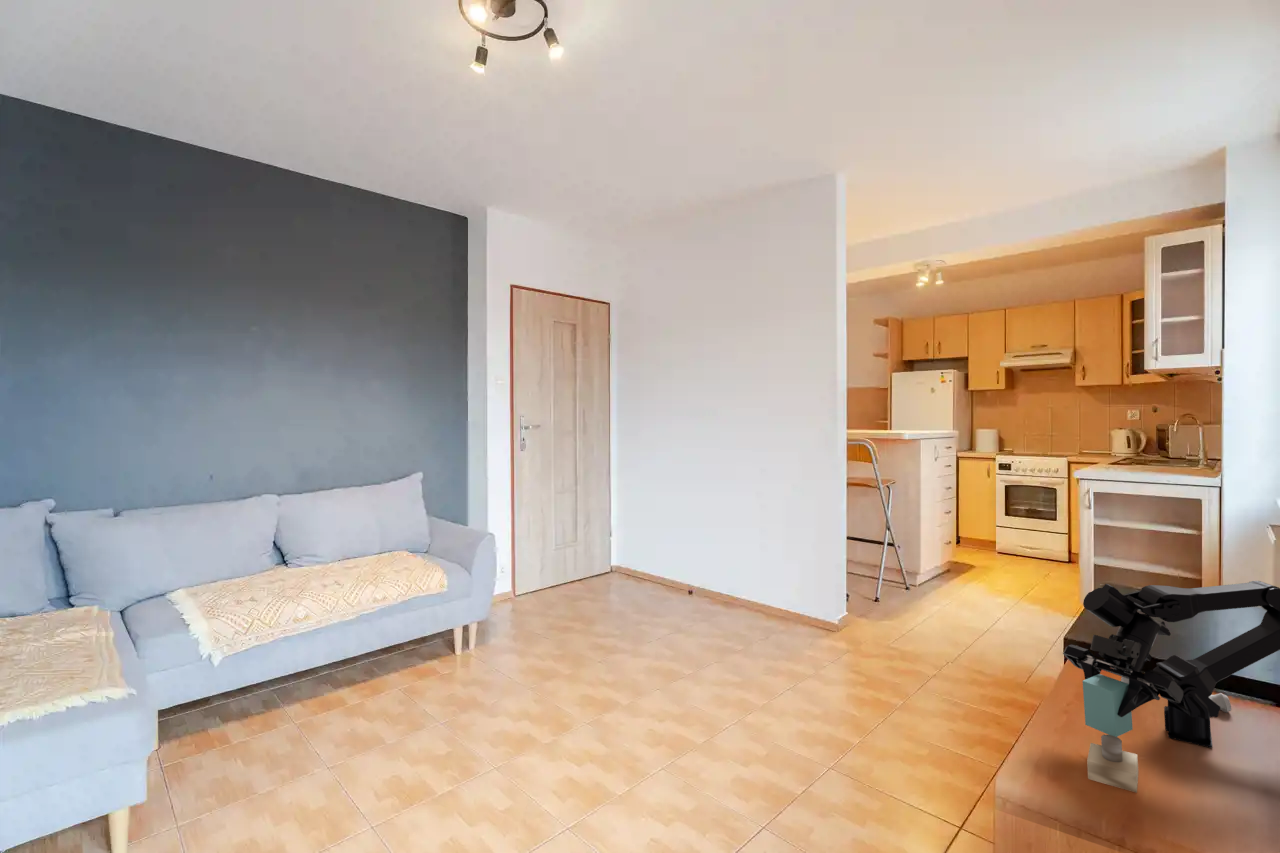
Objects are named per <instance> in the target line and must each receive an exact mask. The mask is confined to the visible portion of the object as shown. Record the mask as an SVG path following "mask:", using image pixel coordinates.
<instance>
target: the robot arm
mask: <svg viewBox="0 0 1280 853" xmlns="http://www.w3.org/2000/svg"><path fill="white" fill-rule="evenodd" d="M1082 605H1083V607H1084V608H1085V610H1087V611H1088V612H1089V613H1091V614H1092V615H1094V616H1095V617H1097V618H1098V619H1099V620H1101V621H1102V622H1104V623H1105V624H1106V625H1108V626H1110V627H1113V628H1117V627H1118V629H1117V632H1116V634H1113V633H1112V634H1111V635H1109V637H1108V638H1107V637H1104V636H1100V635H1099V634H1098V635H1097V634H1093V635H1092V640H1091V643H1090V644H1091V645H1090V650H1091V651H1094V652H1098V655H1099V656H1100V657H1101V658H1103V659H1101V658H1097V657H1096V656H1095V655H1094V654H1093V653H1092V652H1091V651H1090V650H1089V649H1088V648H1084V647H1081V646H1078V645H1075V644H1069V645H1067V646H1065V649H1064V651H1063V652H1062V655H1063V656H1065V658H1066V659H1067V660H1068V661H1069V662H1070V663H1071V664H1072V665H1073V666H1074V667H1075V668H1078V669H1079V670H1082V671H1083V675H1084V680H1085V679H1088V678H1090V677H1093V676H1095V675H1098V674H1101V672H1102V671H1105V672H1106V673H1107V672H1108V673H1110V674H1112V675H1113V674H1114V675H1116V676H1119V677H1124V678H1127V679H1129V688H1128V691H1127V693H1126V695H1125V697H1124V699H1123V701H1122V703H1121V705H1120V707H1119V710H1118V715H1119V716H1120V717H1123V716H1125V715H1126V714H1128V713H1130V712H1131V711H1132V712H1133V711H1135V710H1136V709H1137V708H1139V707H1141V706H1143V705H1145V704H1146V703H1149V702H1152V701H1153V700H1156V701H1160V700H1161V698H1163V699H1166V701H1167V705H1165V706H1164V707H1163V708H1164V710H1163V711H1164V712H1163V714H1164V716H1163V717H1164V730H1165V731H1166V732H1167V733H1168V734H1167V736H1168V738H1169V739H1171V740H1177V741H1181V742H1184V743H1189V744H1193V745H1197V746H1198V745H1199V746H1202V747H1206V748H1211V749H1212V748H1213V739H1212V738H1213V737H1212V732H1211V729H1212V728H1211V718H1217V717H1218V716H1219V715H1220V711H1221V710H1220V706H1219V705H1217V704H1216V703H1215V702H1214V701H1212V700H1211V699H1210V698H1209V696H1211V695H1213V692H1214V690H1215V687H1216V684H1217V683H1218V682H1221V681H1222V680H1224V679H1226V678H1228V677H1230V676H1231V675H1234V674H1236V673H1238V672H1240V671H1242V670H1244V669H1245V668H1248V667H1249V666H1251V665H1253V664H1256V663H1257V662H1259V661H1261V660H1263V659H1265V658H1267V657H1268V656H1271V655H1273V654H1275V653H1277V652H1278V651H1280V587H1278V586H1276V585H1272V584H1270V583H1267V582H1264V581H1261V580H1252V581H1249V582H1243V583H1235V584H1233V583H1232V584H1223V585H1222V584H1221V585H1212V586H1203V587H1202V586H1201V587H1193V588H1184V587H1177V586H1169V585H1159V584H1158V585H1155V584H1148V585H1146V586H1143V587H1142V588H1141V590H1137V591H1133V592H1130V593H1129V592H1128V593H1125V594H1122V593H1121V592H1120V591H1119V590H1118V588H1116V587H1114V586H1112V585H1110V584H1109V583H1105V584H1104V585H1103V587H1097V588H1094V589H1093V590H1092V591H1089V592H1088V593H1087V594H1086V595H1085V597H1084V599H1083V604H1082ZM1256 607H1260V608H1262V609H1263V610H1264V611H1266V612H1265V613H1264V614H1263V617H1262V619H1261V623H1260V624H1258V625H1257V626H1255V627H1253V628H1251V629H1249V630H1247V631H1245V632H1244V633H1242V634H1240V635H1238V636H1236V637H1233V638H1232V639H1230V640H1228V641H1226V642H1224V643H1222V644H1220V645H1219V646H1217V647H1215V648H1213V649H1211V650H1209V651H1206V652H1205V653H1203V654H1201V655H1199V656H1197V657H1195V658H1193V659H1184V658H1182V657H1180V656H1179V655H1176V654H1174V655H1171V656H1169V657H1168V658H1167V659H1165V660H1164V661H1163V660H1162V661H1160V662H1156V667H1154V668H1153V669H1150V668H1149V669H1148V670H1147V669H1146V670H1145V672H1144V673H1143V672H1142V671H1143V668H1144V666H1145V664H1146V662H1147V661H1149V662H1151V660H1152V658H1153V656H1152V655H1151V654H1150V652H1151V650H1152V648H1153V645H1154V643H1155V641H1156V638H1157V636H1158V635H1159V636H1168V637H1169V636H1171V632H1170V630H1169V629H1168V627H1167V626H1166V623H1165V622H1168V623H1177V622H1182V621H1185V620H1189V619H1193V618H1194V617H1195V616H1197V615H1198V614H1200V613H1204V612H1213V611H1223V610H1224V611H1225V610H1235V609H1246V608H1256ZM1155 618H1158V619H1161V620H1162V621H1161V620H1156V619H1155Z"/></svg>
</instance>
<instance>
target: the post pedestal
mask: <svg viewBox="0 0 1280 853" xmlns="http://www.w3.org/2000/svg"><path fill="white" fill-rule="evenodd" d="M1100 738H1101V739H1100V740H1101V742H1100V743H1101V744H1096V743H1094V742H1090V745H1089V750H1088V755H1087V759H1086V760H1087V761H1086V762H1087V764H1086V765H1087V766H1086V768H1087V779H1088V780H1091V781H1094V782H1097V783H1100V784H1101V783H1102V784H1105V785H1108V786H1112V787H1115V788H1119V789H1121V790H1126V791H1129V792H1133V793H1136V794H1137V793H1138V784H1139V782H1138V781H1139V761H1138V757H1139V756H1138V753H1137V754H1136V753H1134V752H1129V751H1125V750H1123V744H1122V743H1123V742H1122V740H1121V738H1119V737H1115V736H1112V735H1108V734H1102V735H1101V736H1100Z"/></svg>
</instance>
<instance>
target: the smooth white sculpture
mask: <svg viewBox="0 0 1280 853" xmlns="http://www.w3.org/2000/svg"><path fill="white" fill-rule="evenodd" d="M1209 698H1210V699H1211V700H1212V701H1214V702H1215V703H1216V704H1217V705H1219V706H1220V711H1222V712H1224V713H1227V714H1228V713H1229V712H1231V711H1232V704H1231V702H1230V699H1229V697H1228V695H1226V694H1224V693H1222V692H1219V693H1216V694H1211V696H1209Z"/></svg>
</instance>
